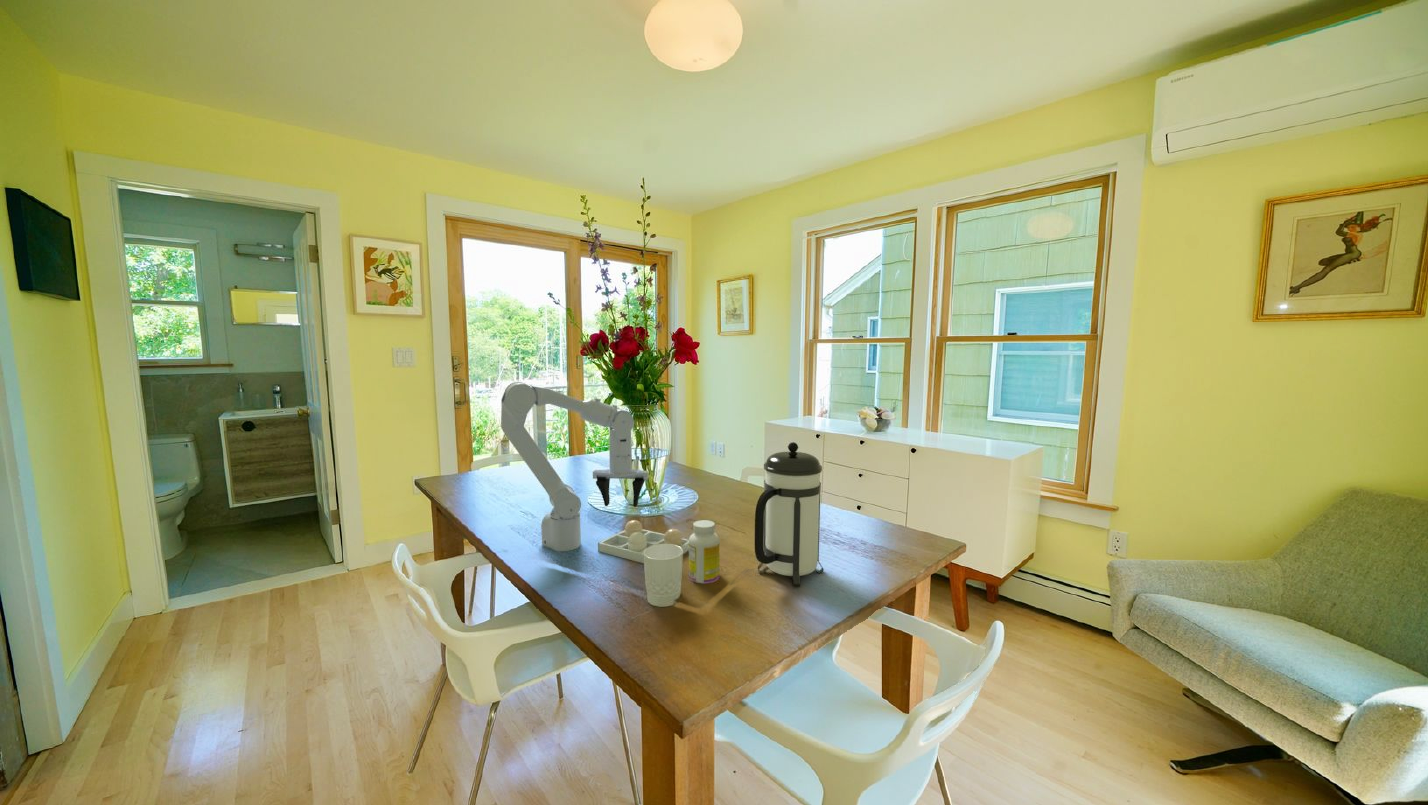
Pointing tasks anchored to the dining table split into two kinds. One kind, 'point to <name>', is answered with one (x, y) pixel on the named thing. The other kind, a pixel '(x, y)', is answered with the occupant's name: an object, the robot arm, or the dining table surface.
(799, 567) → the coffee press
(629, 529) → the brown egg back left
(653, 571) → the white cup
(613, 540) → the egg carton
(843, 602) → the dining table surface
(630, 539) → the cream egg
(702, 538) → the supplement bottle
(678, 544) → the brown egg back right
